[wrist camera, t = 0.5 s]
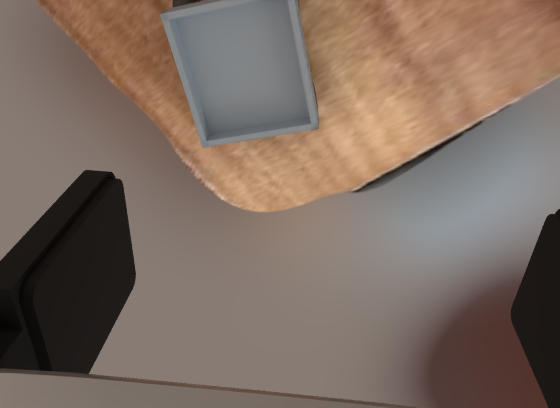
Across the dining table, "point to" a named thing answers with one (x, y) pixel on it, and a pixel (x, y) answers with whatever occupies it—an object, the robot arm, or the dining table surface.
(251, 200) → the dining table surface
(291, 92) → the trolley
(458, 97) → the dining table surface
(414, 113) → the dining table surface
